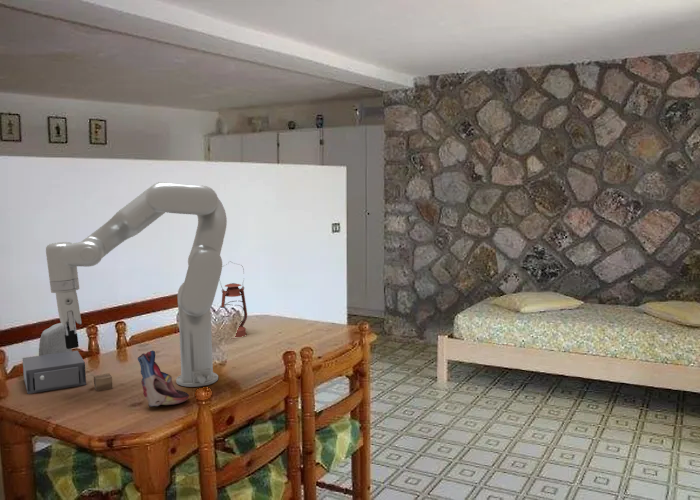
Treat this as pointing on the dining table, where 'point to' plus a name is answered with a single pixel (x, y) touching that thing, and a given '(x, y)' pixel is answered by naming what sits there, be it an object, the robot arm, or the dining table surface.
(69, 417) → the dining table surface
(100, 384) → the tan cube
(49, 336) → the decorative stone
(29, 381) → the box
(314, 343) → the dining table surface
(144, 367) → the anatomical model
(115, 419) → the dining table surface
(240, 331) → the lantern
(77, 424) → the dining table surface
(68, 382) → the grey drawer
